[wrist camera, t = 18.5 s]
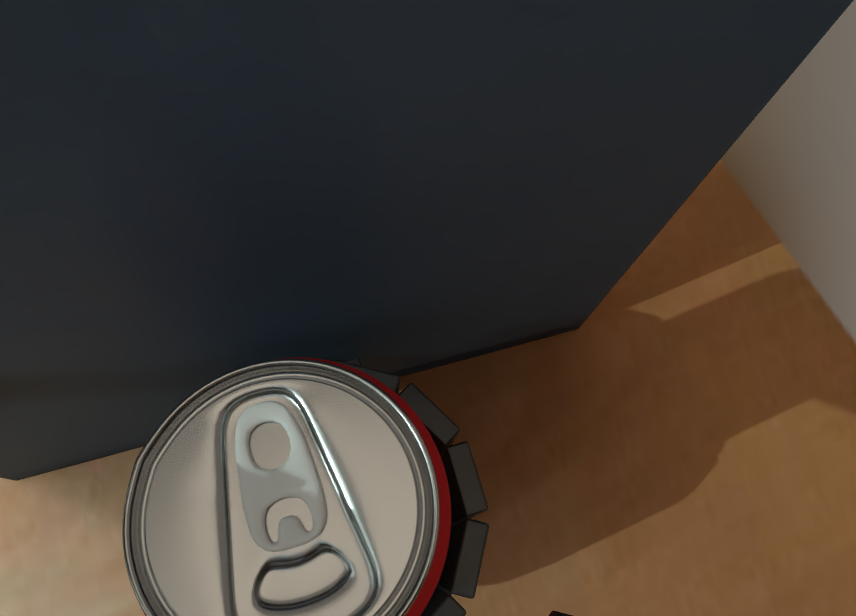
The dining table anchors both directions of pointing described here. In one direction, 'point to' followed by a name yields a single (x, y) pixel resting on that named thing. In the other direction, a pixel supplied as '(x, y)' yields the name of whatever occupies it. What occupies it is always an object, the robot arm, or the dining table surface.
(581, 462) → the dining table surface
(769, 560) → the dining table surface
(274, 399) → the beverage can
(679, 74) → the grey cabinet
